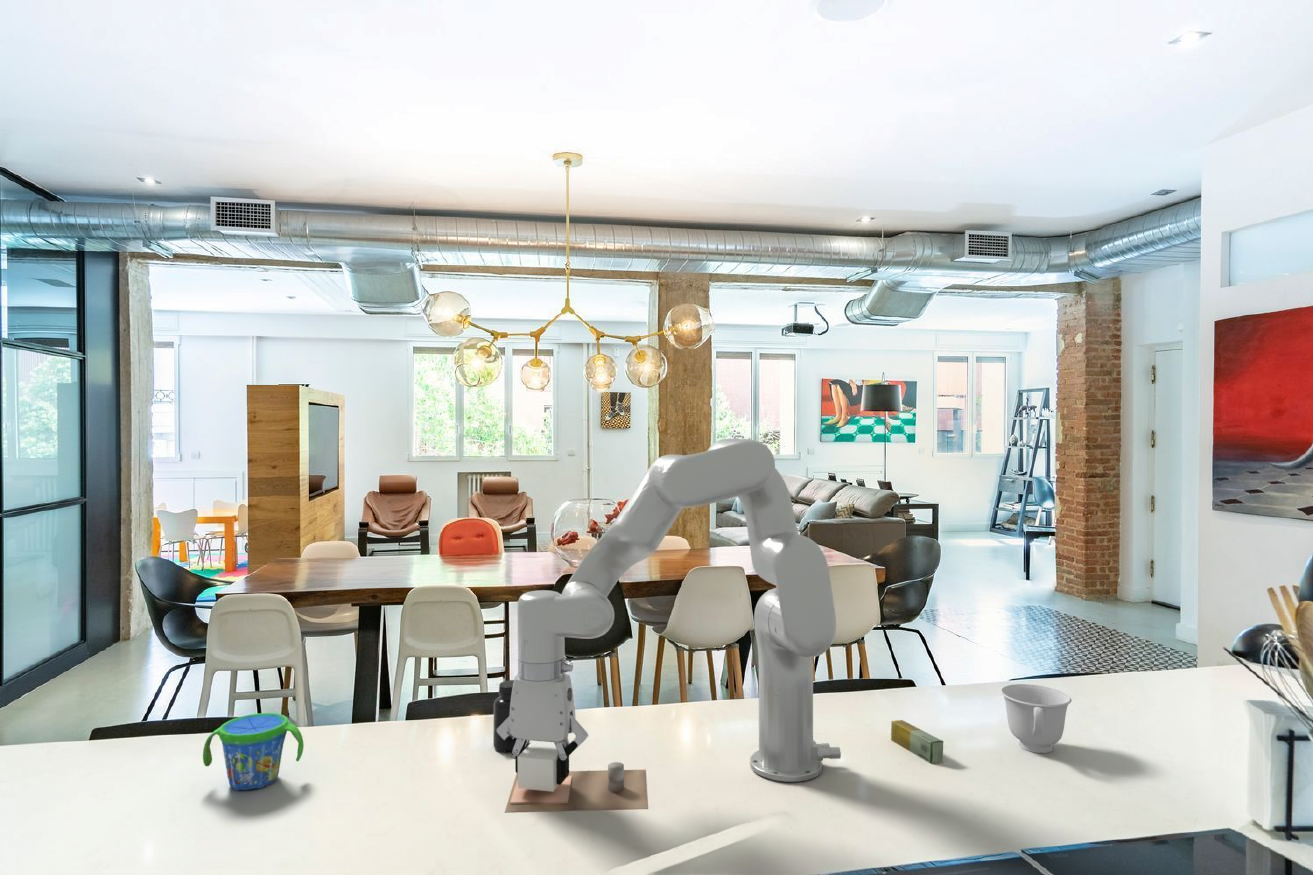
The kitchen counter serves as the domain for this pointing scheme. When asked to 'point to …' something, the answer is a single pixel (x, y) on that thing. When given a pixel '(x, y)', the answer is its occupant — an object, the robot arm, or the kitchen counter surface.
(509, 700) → the supplement bottle
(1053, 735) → the teacup
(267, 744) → the snack cup
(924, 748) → the medication box
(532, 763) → the matte white cube
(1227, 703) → the kitchen counter surface
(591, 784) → the post board
